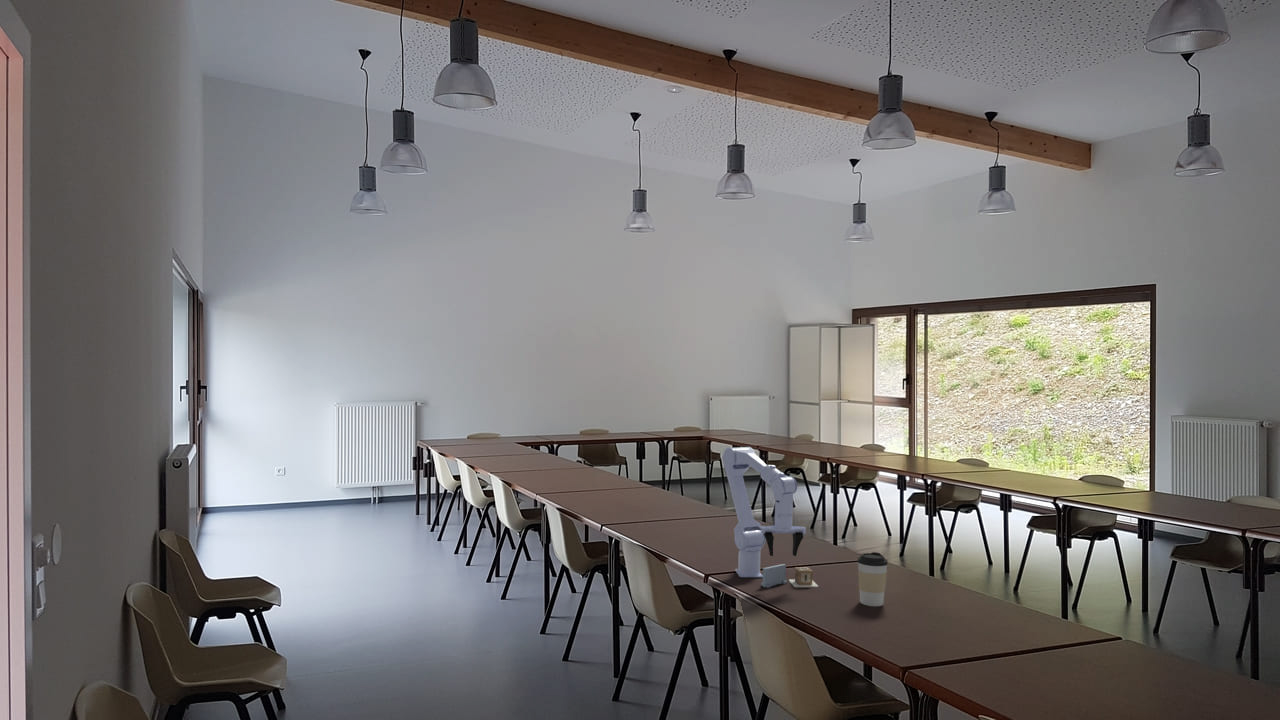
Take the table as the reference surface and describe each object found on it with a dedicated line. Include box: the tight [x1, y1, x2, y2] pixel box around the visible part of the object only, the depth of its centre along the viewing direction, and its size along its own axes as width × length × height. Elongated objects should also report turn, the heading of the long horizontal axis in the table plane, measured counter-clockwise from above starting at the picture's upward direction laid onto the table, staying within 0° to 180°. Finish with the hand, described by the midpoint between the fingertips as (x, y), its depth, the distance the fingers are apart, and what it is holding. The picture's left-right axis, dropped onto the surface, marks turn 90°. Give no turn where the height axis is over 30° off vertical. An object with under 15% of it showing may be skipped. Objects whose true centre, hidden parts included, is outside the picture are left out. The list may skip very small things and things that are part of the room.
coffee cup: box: [856, 551, 889, 607], centre depth 258 cm, size 9×9×15 cm
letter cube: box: [794, 566, 813, 585], centre depth 277 cm, size 5×5×5 cm
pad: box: [788, 578, 819, 588], centre depth 278 cm, size 8×8×1 cm
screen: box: [760, 563, 788, 589], centre depth 276 cm, size 3×10×6 cm, turn 129°
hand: (782, 555), depth 273 cm, fingers open, 7 cm apart
